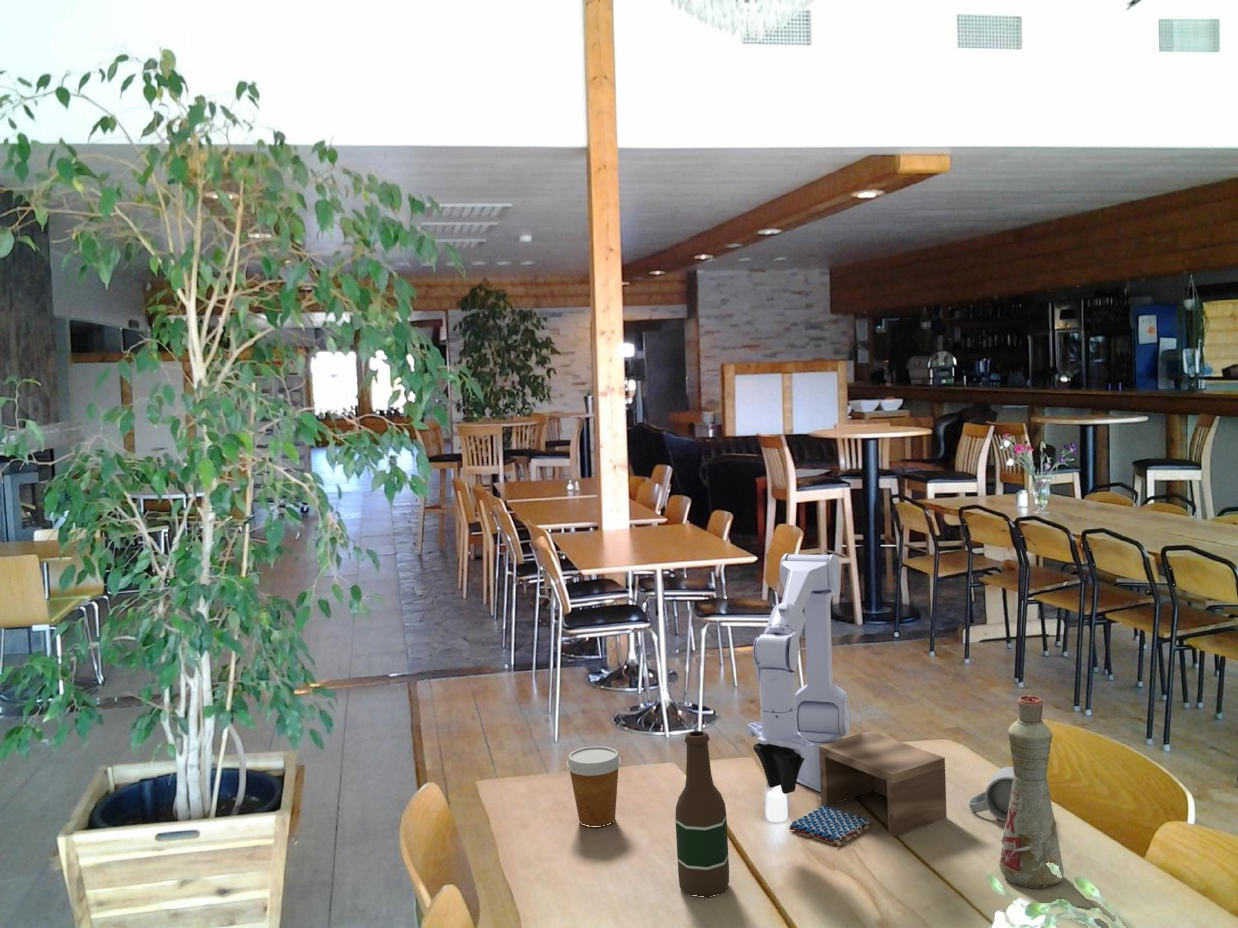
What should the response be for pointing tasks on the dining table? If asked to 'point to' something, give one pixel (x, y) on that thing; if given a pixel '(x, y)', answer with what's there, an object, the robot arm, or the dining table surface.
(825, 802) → the walnut open box
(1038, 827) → the bottle
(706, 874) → the beer bottle
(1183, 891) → the dining table surface
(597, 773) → the disposable coffee cup
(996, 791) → the ceramic mug
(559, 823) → the dining table surface
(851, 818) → the woven mat
